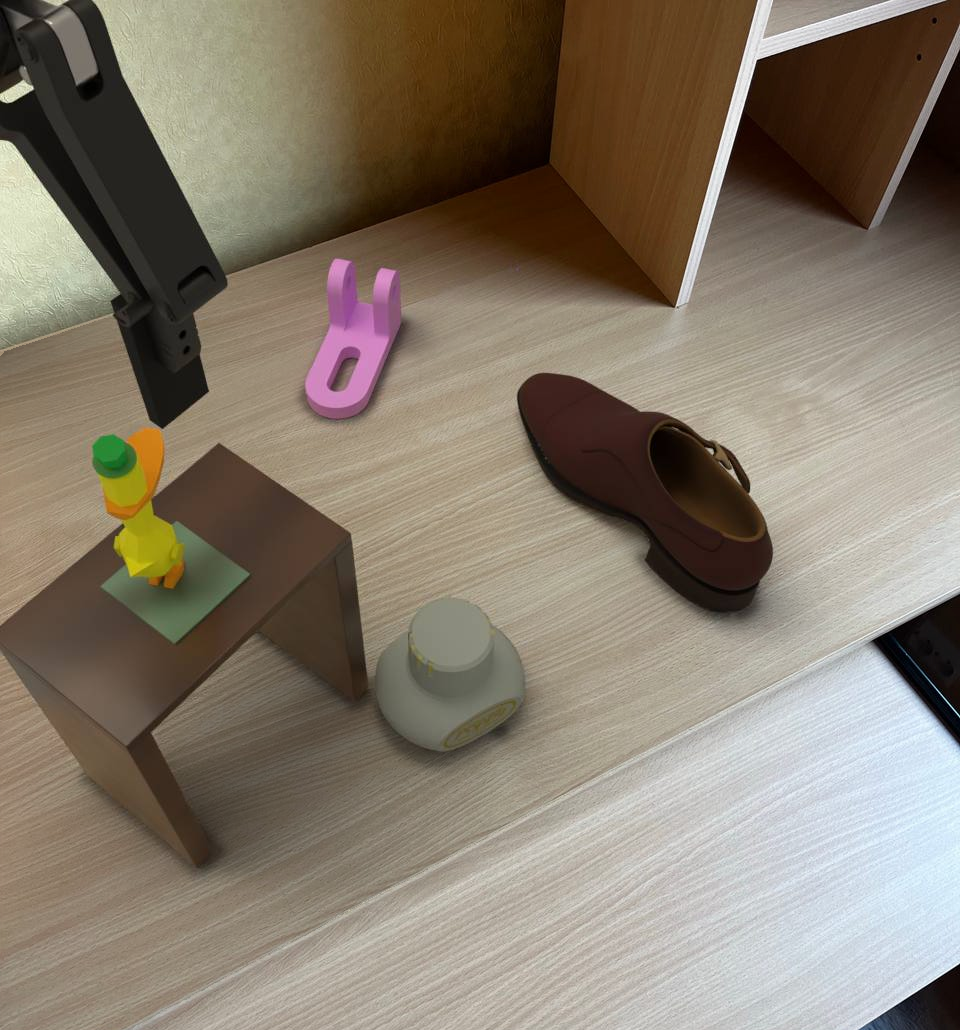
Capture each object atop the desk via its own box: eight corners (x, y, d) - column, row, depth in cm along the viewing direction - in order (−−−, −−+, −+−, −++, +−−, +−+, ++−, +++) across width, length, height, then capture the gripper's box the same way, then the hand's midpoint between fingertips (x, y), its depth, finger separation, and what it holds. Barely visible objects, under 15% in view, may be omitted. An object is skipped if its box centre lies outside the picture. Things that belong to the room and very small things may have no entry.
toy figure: (155, 519, 65) (102, 376, 55) (214, 528, 65) (172, 386, 55) (118, 614, 62) (55, 481, 51) (180, 624, 62) (128, 492, 51)
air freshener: (481, 626, 86) (486, 554, 77) (540, 707, 82) (552, 640, 74) (358, 691, 82) (350, 623, 74) (415, 778, 79) (413, 717, 70)
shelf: (87, 775, 78) (-13, 632, 61) (262, 609, 86) (218, 439, 68) (196, 868, 75) (125, 746, 58) (369, 688, 83) (351, 531, 65)
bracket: (344, 309, 102) (338, 249, 96) (401, 321, 102) (399, 262, 96) (298, 411, 96) (288, 353, 90) (358, 424, 96) (353, 367, 90)
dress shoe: (567, 376, 99) (581, 275, 89) (786, 586, 89) (831, 498, 79) (486, 421, 96) (492, 322, 86) (704, 644, 86) (739, 561, 76)
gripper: (280, -145, 28) (340, 419, 46) (-301, -419, 35) (-47, 166, 53) (50, -20, 25) (213, 532, 43) (-538, -349, 32) (-181, 247, 50)
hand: (69, 331), depth 48 cm, fingers open, 13 cm apart
